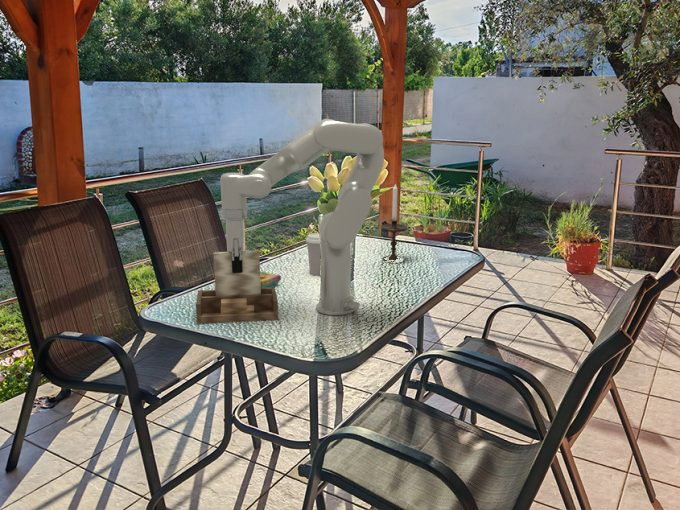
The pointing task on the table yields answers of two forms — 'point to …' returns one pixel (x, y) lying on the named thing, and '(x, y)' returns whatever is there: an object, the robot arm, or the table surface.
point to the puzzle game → (269, 279)
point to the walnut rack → (211, 313)
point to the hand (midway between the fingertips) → (237, 271)
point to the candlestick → (393, 225)
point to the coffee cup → (314, 253)
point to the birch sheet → (237, 274)
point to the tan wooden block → (236, 306)
